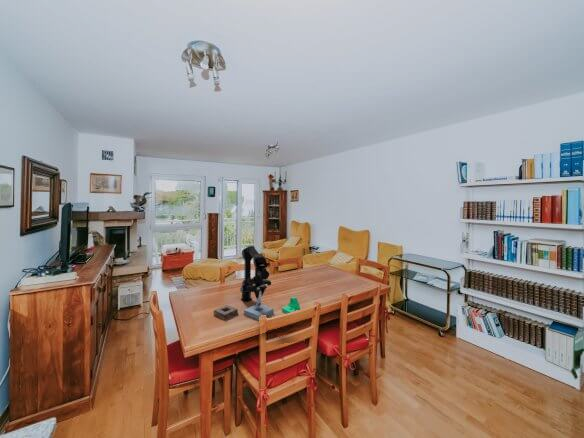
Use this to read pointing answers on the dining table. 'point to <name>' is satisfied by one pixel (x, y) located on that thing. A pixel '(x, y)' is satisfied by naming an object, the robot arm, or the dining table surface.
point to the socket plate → (258, 311)
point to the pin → (259, 299)
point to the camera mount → (292, 306)
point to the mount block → (225, 311)
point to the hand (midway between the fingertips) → (258, 297)
